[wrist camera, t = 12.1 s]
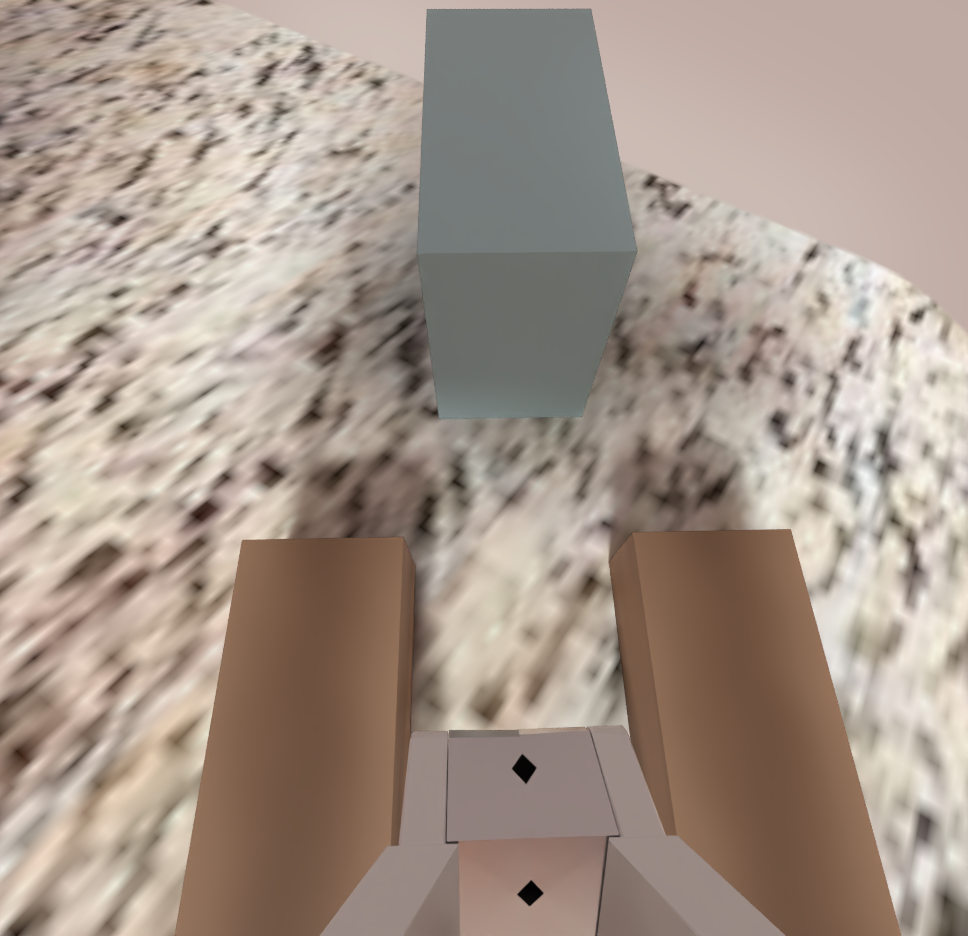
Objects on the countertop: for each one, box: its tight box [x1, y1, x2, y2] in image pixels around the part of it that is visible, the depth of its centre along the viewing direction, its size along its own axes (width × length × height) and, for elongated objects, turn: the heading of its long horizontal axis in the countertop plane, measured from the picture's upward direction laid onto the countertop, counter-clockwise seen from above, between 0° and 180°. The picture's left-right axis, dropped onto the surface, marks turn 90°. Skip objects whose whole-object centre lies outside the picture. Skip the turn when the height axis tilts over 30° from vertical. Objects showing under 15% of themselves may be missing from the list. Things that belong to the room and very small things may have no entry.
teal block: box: [417, 9, 637, 419], centre depth 21 cm, size 6×12×9 cm, turn 1°
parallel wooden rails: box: [175, 529, 901, 936], centre depth 15 cm, size 17×18×4 cm
